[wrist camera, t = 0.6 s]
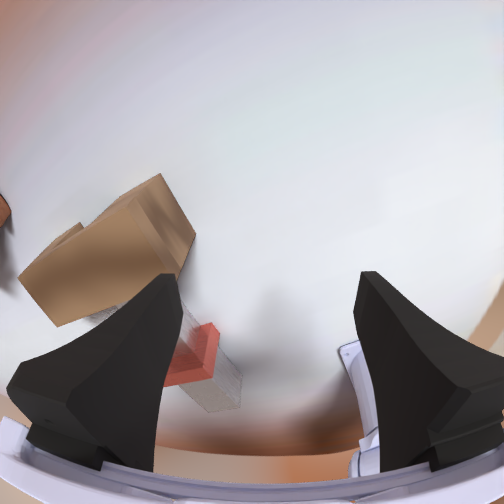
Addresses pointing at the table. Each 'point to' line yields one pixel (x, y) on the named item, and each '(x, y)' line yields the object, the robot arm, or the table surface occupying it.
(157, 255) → the walnut block
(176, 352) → the grey and red block
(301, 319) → the table surface
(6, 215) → the brown ringed sculpture
